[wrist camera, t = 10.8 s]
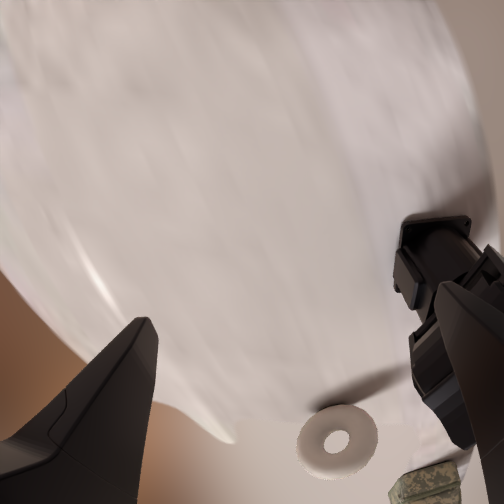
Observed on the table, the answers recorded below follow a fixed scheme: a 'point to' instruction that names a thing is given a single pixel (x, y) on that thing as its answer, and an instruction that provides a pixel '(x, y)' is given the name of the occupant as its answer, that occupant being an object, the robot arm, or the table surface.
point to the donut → (348, 459)
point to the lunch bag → (428, 486)
